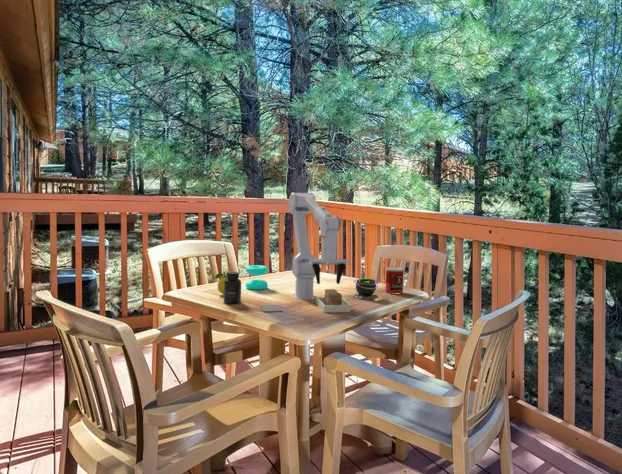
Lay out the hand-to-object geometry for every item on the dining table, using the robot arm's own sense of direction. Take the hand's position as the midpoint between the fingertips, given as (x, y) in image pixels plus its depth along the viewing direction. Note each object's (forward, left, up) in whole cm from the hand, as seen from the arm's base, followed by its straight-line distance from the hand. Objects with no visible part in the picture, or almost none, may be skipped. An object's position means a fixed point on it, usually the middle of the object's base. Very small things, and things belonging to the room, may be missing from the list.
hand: (328, 283), depth 192 cm
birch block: (-3, +2, -9) cm, 10 cm away
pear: (-28, -38, -10) cm, 48 cm away
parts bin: (0, +2, -10) cm, 10 cm away
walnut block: (+4, +2, -9) cm, 10 cm away
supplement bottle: (-14, -35, -10) cm, 39 cm away
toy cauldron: (-17, +20, -10) cm, 28 cm away
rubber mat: (-2, -20, -10) cm, 23 cm away
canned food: (-26, +37, -10) cm, 46 cm away
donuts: (-41, -23, -10) cm, 48 cm away
